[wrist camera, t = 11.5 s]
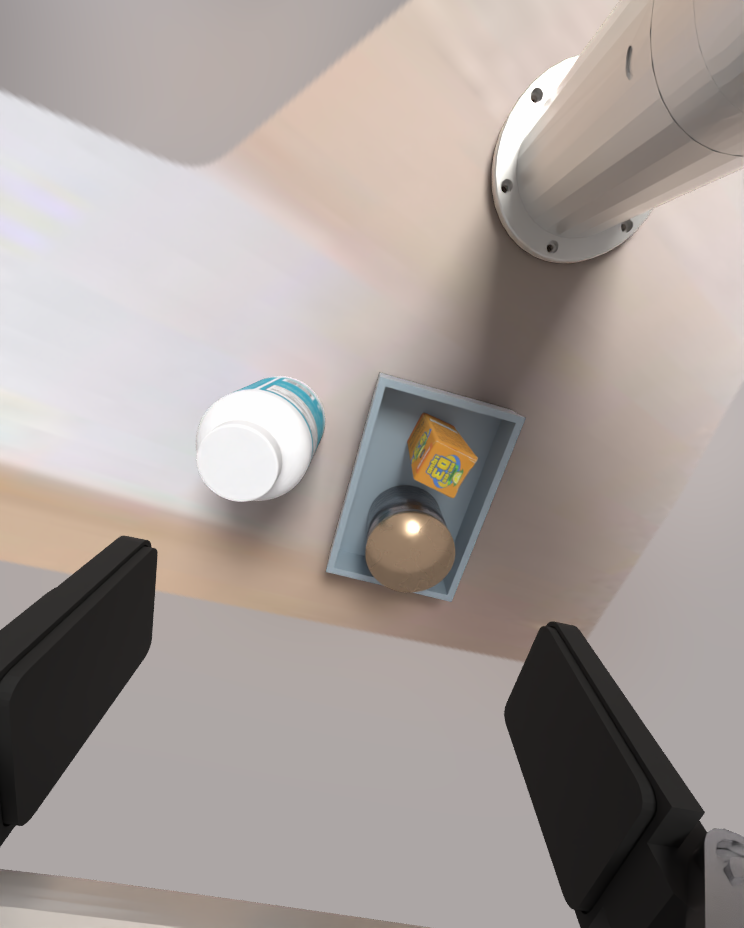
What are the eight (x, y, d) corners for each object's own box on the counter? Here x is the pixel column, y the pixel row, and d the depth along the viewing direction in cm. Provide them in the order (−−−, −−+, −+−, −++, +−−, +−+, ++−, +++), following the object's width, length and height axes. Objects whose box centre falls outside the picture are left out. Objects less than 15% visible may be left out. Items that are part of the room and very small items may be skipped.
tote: (379, 372, 34) (380, 376, 31) (510, 409, 35) (525, 418, 32) (330, 550, 39) (325, 571, 36) (444, 578, 40) (451, 601, 37)
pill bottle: (246, 456, 36) (177, 522, 24) (240, 373, 34) (159, 397, 21) (328, 457, 36) (303, 525, 24) (327, 375, 34) (299, 401, 21)
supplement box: (420, 408, 35) (438, 437, 25) (454, 426, 35) (484, 460, 25) (402, 441, 35) (413, 481, 26) (436, 458, 36) (458, 503, 26)
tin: (378, 475, 36) (379, 503, 30) (452, 494, 37) (468, 526, 31) (358, 542, 39) (355, 581, 33) (428, 559, 39) (438, 601, 33)
